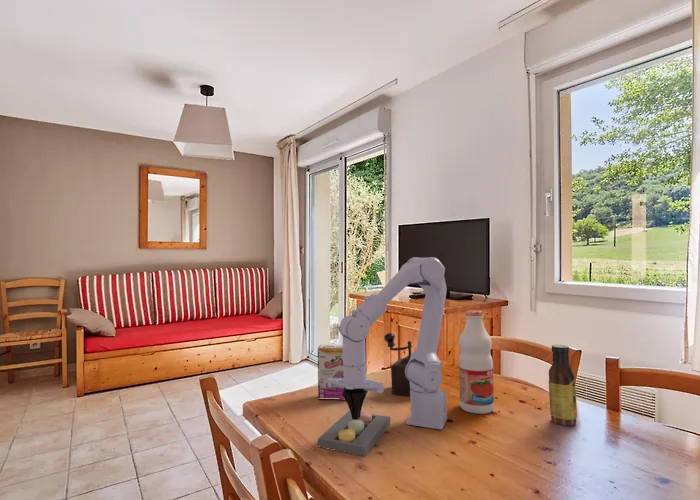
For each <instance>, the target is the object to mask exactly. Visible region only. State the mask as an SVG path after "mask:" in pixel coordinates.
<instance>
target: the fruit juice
mask: <svg viewBox="0 0 700 500" xmlns="http://www.w3.org/2000/svg"><path fill="white" fill-rule="evenodd" d="M465 317H466V321H465V326H464V328H463V331H462V332H461V334H460V335H459V338H458V344H459V349H460V352H459V357H458V358H459V359H458V372H459V374H458V376H459V405H460V408H461V409H462V410H463V411H465V412H467V413H471V414H476V415H477V414H478V415H484V414H490V413H492V412H493V411H494V409H495V394H494V393H495V392H494V391H495V390H494V361H493V356H492V355H491V350H492V346H493V344H492V341H493V340H492V338H491V336H490V334H489V333H488V331H487V330H486V326H485V325H484V322H483V321H484V320H483V318H484V311H482V310H477V309H473V310H472V309H471V310H466V311H465Z"/></svg>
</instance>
